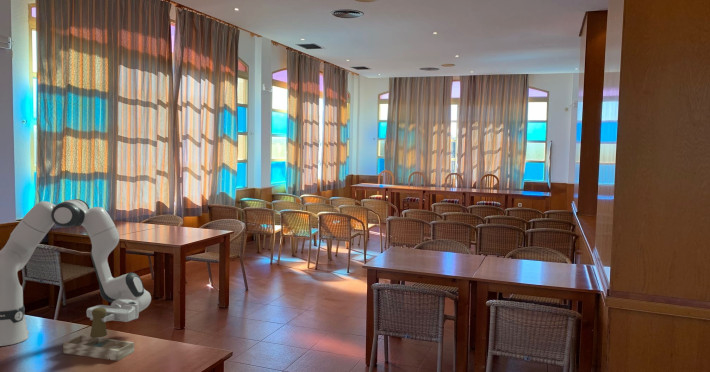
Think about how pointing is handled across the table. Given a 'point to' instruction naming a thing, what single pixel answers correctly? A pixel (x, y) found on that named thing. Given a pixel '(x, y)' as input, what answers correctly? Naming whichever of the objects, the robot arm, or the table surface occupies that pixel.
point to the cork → (98, 323)
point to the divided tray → (98, 347)
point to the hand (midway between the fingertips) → (97, 319)
